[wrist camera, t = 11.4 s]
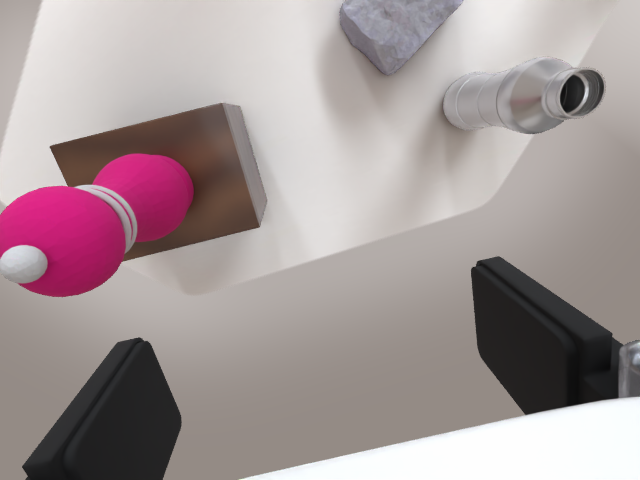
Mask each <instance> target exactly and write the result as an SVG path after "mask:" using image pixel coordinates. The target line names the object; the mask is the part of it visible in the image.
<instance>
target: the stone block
mask: <svg viewBox="0 0 640 480" xmlns="http://www.w3.org/2000/svg"><path fill="white" fill-rule="evenodd" d="M462 2H463V0H345V2H344V3H343V4H342V7H341V9H340V21H341V26H342V28H343V30H344V31H345V33H346V35H347V36H348V38H349V40H350V42H351V44H352V45H353V46H355V47H356V48H358V49H359V50H360V51H361V52H362V53H364V54H365V55H366V56H367V57H368V58H369V59H370V61H371V62H372V63H373V64H374V65H375V66H376V67H377V68H378V69H379V70H380V71H381V72H382V73H384V74H386V75H390V74H393V73H395V72H396V71H397V70H398V69H400V68H401V67H402V66H403V65H404V63H405V62H407V61H408V60H409V59H410V58H411V57H412V56H413V54H414V53H415V52H416V51H417V50H418V49H419V48H420V47H421V46H422V45H423V44H424V43H425V42H426V40H427V39H428V38H429V37H430V36H431V35H432V33H433V32H434V31H435V30H436V29H437V28H438V27H439V26H440V25H441V24H442V23H443V22H444V21H445V20H446V19H447V18H448V17H449V16H450V15H451V14H452V13H453V12H454V11H455V10H456V9H457V8H458V7H459V6H460V5H461V4H462Z"/></svg>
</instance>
